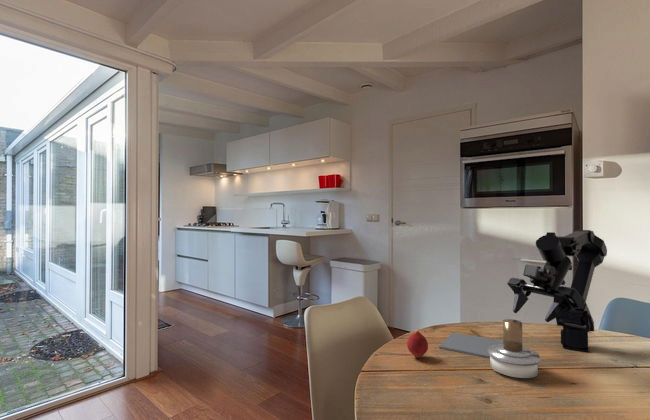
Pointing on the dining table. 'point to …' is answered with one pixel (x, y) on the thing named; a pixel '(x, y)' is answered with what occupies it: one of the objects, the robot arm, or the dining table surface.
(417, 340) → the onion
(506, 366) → the white rounded piece
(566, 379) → the dining table surface
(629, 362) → the dining table surface
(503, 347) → the cylinder on round base
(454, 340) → the mat
